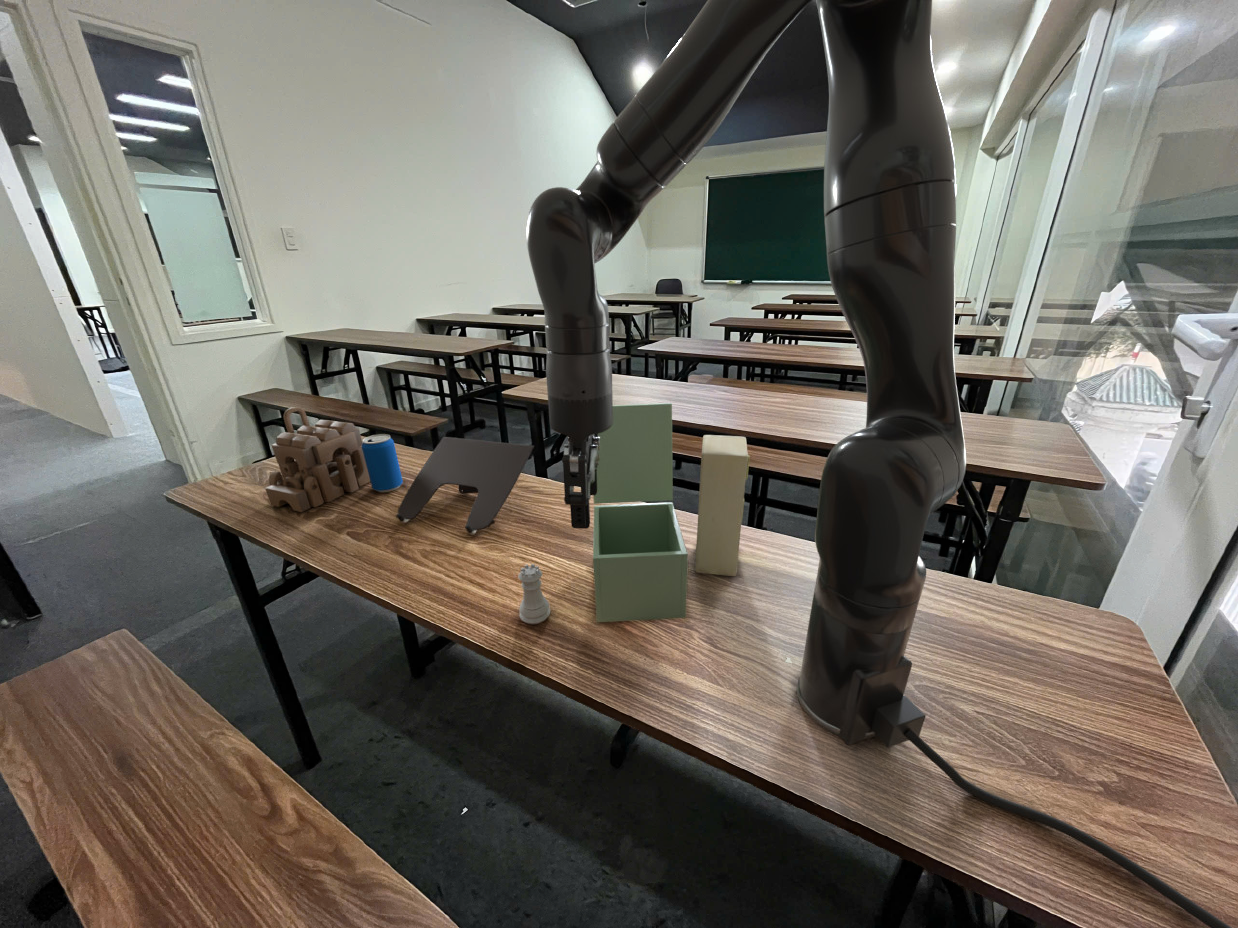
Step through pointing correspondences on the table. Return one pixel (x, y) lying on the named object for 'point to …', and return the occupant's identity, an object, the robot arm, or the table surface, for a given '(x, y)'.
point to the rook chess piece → (532, 596)
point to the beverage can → (382, 462)
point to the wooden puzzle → (316, 463)
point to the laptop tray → (468, 477)
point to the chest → (639, 563)
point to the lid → (636, 455)
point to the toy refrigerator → (721, 503)
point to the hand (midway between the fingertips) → (585, 509)
